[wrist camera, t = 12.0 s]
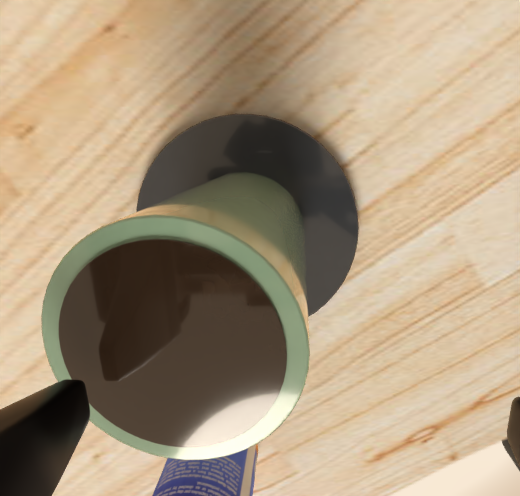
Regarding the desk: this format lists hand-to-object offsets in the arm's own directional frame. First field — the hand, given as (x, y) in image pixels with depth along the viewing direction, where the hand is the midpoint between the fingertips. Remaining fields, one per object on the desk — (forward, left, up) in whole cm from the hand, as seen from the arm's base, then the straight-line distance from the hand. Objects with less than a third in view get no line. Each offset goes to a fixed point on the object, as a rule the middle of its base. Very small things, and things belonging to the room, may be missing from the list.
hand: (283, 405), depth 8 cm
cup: (-2, +4, -11) cm, 12 cm away
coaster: (+2, +2, -13) cm, 13 cm away
